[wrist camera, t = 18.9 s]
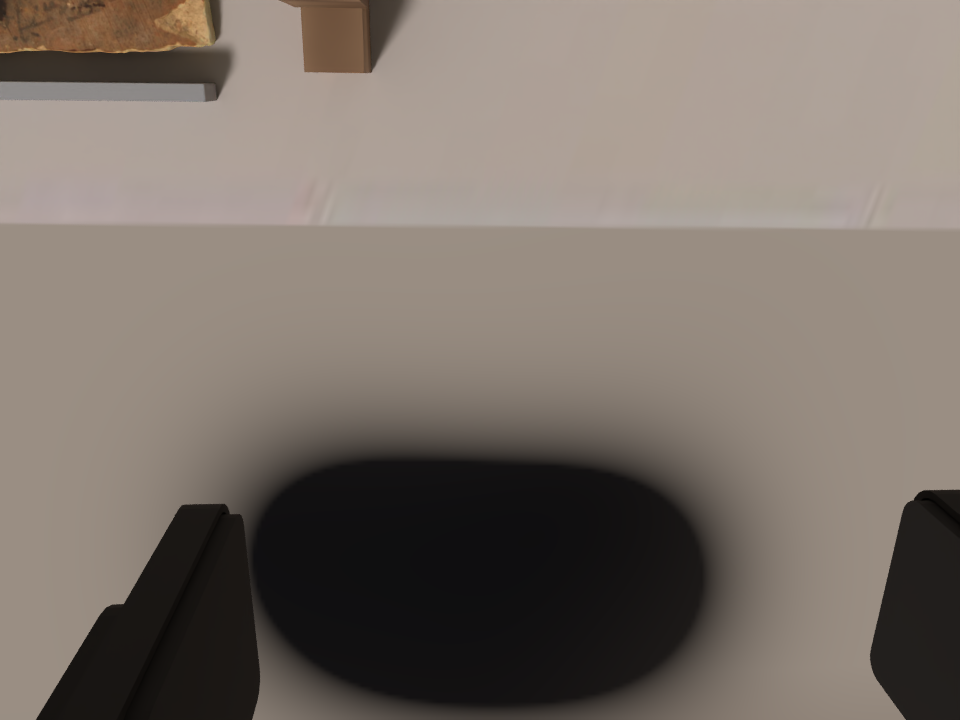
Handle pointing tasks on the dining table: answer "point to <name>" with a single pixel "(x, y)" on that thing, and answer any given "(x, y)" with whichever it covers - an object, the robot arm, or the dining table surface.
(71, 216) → the dining table surface
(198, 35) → the shard
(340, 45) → the wooden step block
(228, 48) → the dining table surface
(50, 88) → the frame
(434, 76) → the dining table surface
